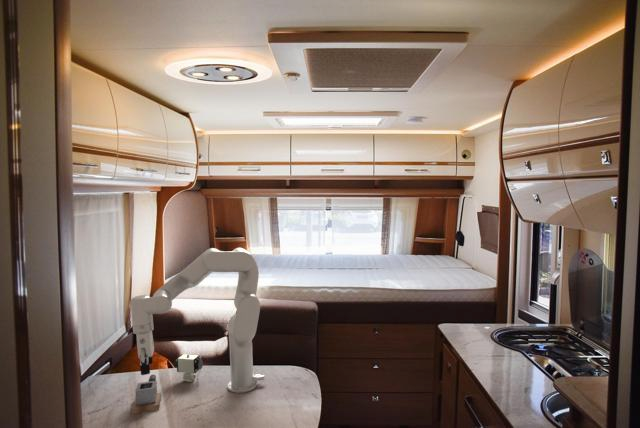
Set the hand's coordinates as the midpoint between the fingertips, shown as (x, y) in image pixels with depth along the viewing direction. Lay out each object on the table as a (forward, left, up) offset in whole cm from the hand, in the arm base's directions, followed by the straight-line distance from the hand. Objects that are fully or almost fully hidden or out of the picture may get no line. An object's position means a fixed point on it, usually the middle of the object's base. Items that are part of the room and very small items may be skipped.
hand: (147, 368), depth 162 cm
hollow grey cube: (+1, 0, -13) cm, 13 cm away
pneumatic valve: (-15, -17, -15) cm, 27 cm away
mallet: (+1, -8, -15) cm, 17 cm away
